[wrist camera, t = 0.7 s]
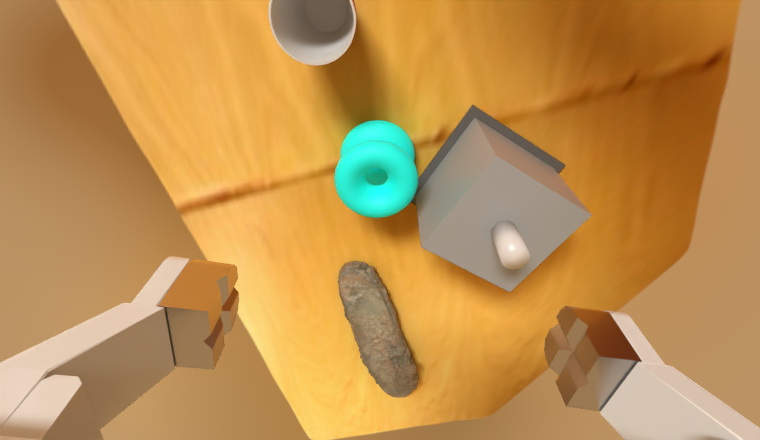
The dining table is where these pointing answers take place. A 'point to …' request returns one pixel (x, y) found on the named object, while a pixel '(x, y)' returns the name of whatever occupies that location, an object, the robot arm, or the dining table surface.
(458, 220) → the cover
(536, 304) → the dining table surface
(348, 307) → the elongated rock
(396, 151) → the donuts
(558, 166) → the mat
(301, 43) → the cup
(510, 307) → the dining table surface
